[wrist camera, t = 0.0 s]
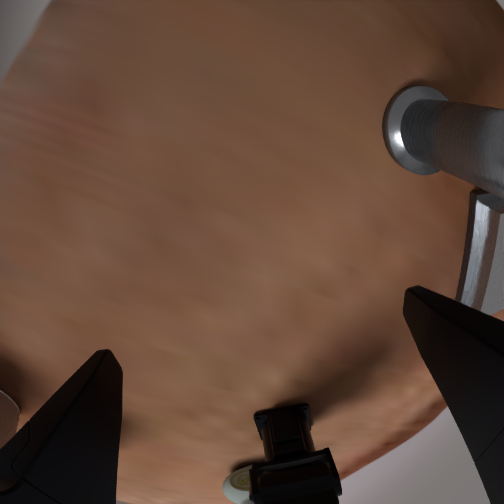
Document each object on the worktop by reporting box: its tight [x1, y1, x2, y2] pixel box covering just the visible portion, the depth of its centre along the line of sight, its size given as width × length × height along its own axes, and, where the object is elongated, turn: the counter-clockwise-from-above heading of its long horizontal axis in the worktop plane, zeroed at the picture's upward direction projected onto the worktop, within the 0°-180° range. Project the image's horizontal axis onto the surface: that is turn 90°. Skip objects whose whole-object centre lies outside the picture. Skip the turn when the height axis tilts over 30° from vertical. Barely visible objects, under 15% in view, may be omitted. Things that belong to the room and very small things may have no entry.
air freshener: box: [222, 465, 254, 504], centre depth 37 cm, size 11×8×10 cm
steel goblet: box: [382, 86, 504, 200], centre depth 14 cm, size 7×7×14 cm
